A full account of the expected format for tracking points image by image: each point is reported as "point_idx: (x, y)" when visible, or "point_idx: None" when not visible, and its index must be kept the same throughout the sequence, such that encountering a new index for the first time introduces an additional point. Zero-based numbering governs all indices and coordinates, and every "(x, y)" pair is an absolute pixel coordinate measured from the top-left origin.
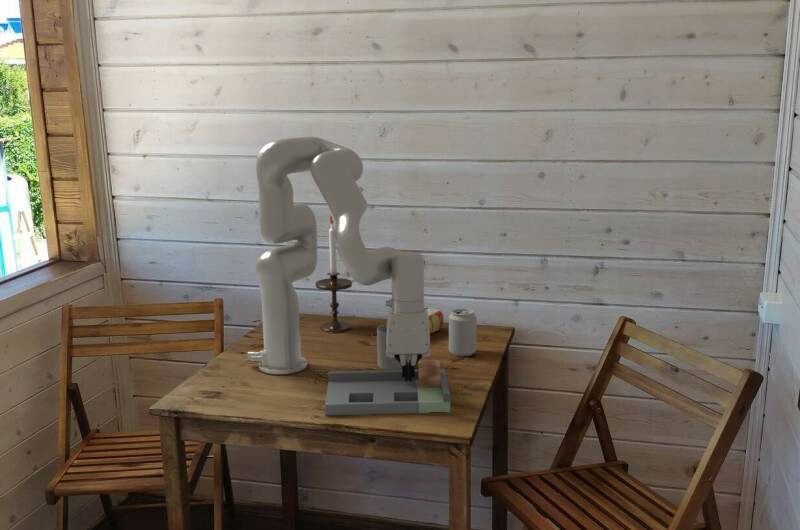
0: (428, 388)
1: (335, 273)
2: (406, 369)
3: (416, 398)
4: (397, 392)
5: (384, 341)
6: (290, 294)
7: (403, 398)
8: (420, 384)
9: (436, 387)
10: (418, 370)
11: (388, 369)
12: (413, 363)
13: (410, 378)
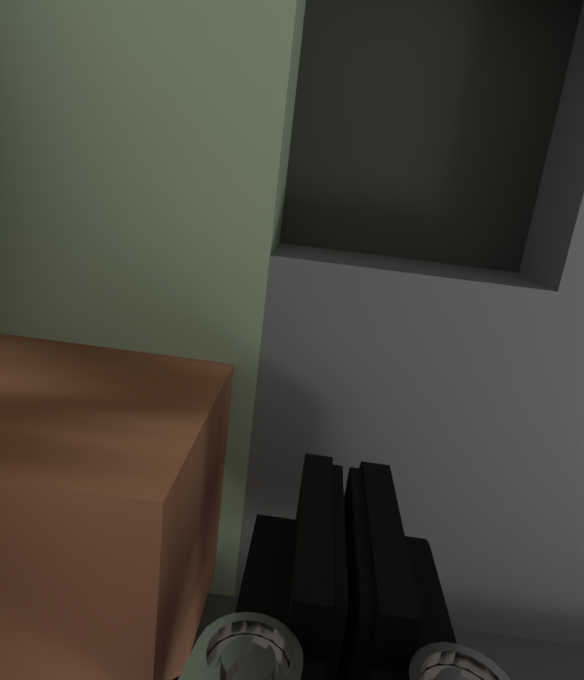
0: (129, 334)
1: None
2: (390, 568)
3: (288, 247)
4: (512, 284)
5: None
6: None
7: (425, 265)
8: (209, 378)
9: (36, 341)
10: (184, 590)
11: None
12: (248, 658)
13: (322, 474)
